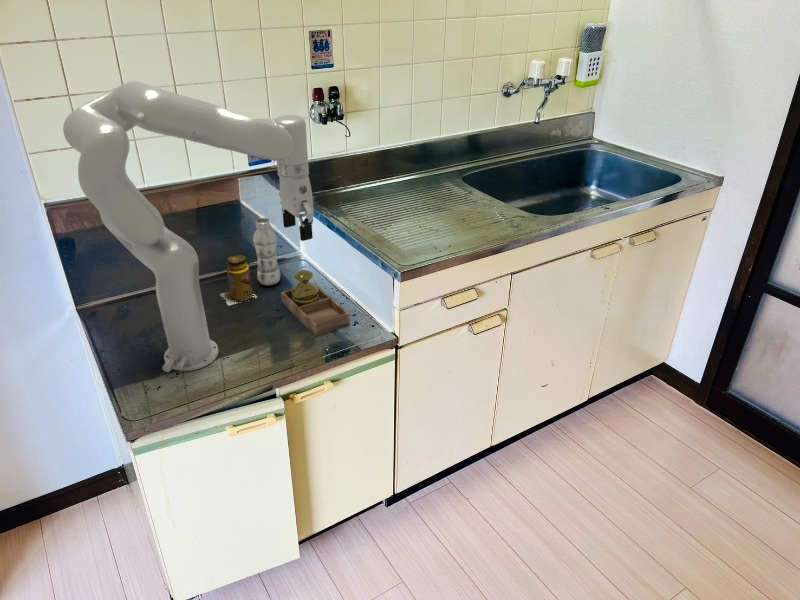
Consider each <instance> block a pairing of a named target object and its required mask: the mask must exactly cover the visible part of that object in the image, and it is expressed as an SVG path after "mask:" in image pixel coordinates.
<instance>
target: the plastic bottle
mask: <svg viewBox="0 0 800 600" xmlns="http://www.w3.org/2000/svg"><path fill="white" fill-rule="evenodd" d="M255 227H256V230H255V231H254V234H253V237H252V241H253V245H254V248H255V252H256V258H257V270H256V271H257V274H256V276H257V277H256V278H257V280H258V282H259V283H260V284H261V285H262V286H266V287H267V286H268V287H269V286H273V285H274V286H275V285H277V284H278V283H279V281H280V280H281V271H280V267H279V264H278V258H277V240H278V239H277V235H276V232H275V231H274V230H273V229H272V228H271V222H270V219H269V218H266V217H260V218H258V219H256V220H255Z"/></svg>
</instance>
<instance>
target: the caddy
mask: <svg viewBox="0 0 800 600" xmlns="http://www.w3.org/2000/svg"><path fill="white" fill-rule="evenodd" d="M312 283H313V284H315V285H316V286H317V287H318V289H319V291H318V294H319V301H316V302H313V303H310V304H306V305H303V306H300V307H298V306H297V305H296V304H295V303H294V302H293V301H292V296H293V295H292V293H291V290H292V288H291V289H288V290H284V291H281V292H280V294H281V304H282V305H284V307H285V308H286V309H287V310H288V311H289V312H290V313H291V314H292V315H293V316H294V317H296V319H297V320H298V321H299V322H300V323H301V324H302V325H303V326H304V327H305V328H306V329H307V330H308V331H309V332H310V333H311V334H312V335H313V336H314V337H318V336H322V335H324V334H326V333H327V334H328V333H330V332H332V331H335V330H338V329H341V328H344V327H347V326H349V325H351V322H350V321H351V320H350V313H349V311H347V310H346V309H345V308H344V307H343V306H341V304H339V303H338V302H337V301H336V300H335V299H334V298H332V297H331V296H330V295H329V294H328V293H327V292H326V291H325V290H323V289H322V288H321V287H320V286H318V285H317V283H316V282H312Z"/></svg>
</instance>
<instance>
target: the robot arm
mask: <svg viewBox="0 0 800 600" xmlns="http://www.w3.org/2000/svg"><path fill="white" fill-rule="evenodd" d="M135 127H139V128H141V129H143V130H145V131H148V132H151V133H156V134H159V135H164V136H167V137H173V138H177V139H181V140H187V141H190V142H195V143H197V144H198V143H199V144H203V145H206V146H210V147H214V148H217V149H221V150H226V151H227V150H228V151H233V152H236V153H240V154H244V155H247V156H252V157H255V158H260V159H264V160H269V161H275V162H276V169H277V170H276V171H277V177H279V192H278V194H279V198H280V205H281V212H282V222H283V227H284V228H291V227H294V226H296V218H297V219H298V222H299V224H300V225H299V229H298V230H299V239H300V241H301V242H304V241H309V240H312V239H313V238H314V237H313V222H314V211H315V210H314V200H313V192H312V185H311V181H310V177H309V175H310V171H309V155H308V141H307V138H308V137H307V125H306V120H305V119H304V118H303V117H302V116H298V115H296V114H295V115H294V114H285V115H280V116H278V117H275V118H273V117H272V118H250V117H248V116H244V115H242V114H239V113H236V112H233V111H231V110H229V109H227V108H224V107H222V106H219V105H217V104H214V103H210V102H207V101H203V100H200V99H197V98H193V97H191V96H190V97H189V96H186V95H182V94H179V93H175V92H172V91H168V90H166V89H162V88H159V87H155V86H152V85H149V84H146V83H144V82H140V81H129V82H125V83H123V84H121V85H118V86H117V87H115V88H113V89H111V90H109V91H107V92H105V93H104V94H102V95H100V96H98V97H96V98H94V99H92V100H90V101H88V102H87V103H85V104H82V105H81V106H79V107H78V108H76V109H73V111H71V112H70V113H69V114H68V115H67V117H66V118H65V120H64V122H63V128H62V130H63V131H62V132H63V136H64V139H65V140H66V142H67V143H68V145H69V146H70V147H71V148H73V149H74V150H75V151H77V152H78V153H80V156H79V160H78V164H77V165H78V166H77V174H78V176H77V177H78V183H79V186H80V188H81V190H82V192H83V194H84V196H85V197H86V198H87V199H88V200H89V201H90V203H91V204H92V205H93V206H94V207H95V208H96V209H97V210H98V212H99V216H100V219H101V222H102V223H103V225H104V226H105V227H106V229H107V230H108V231H109V232H110V233H111V234H112V235H113V236H114V237H115V238H116V239H117V240H118V241H119V242H120V243H121V244H122V245H123V246H124V247H125V248H126V249H127V250H128V251H129V252H130V253H131V254H132V255H133V256H134V257H135V258H136V259H137V260H139V261H140V262H141V263H142V264H143V265H144V266H146V267H147V268H148V269H149V270H151V271H152V273H153V274H154V277H155V294H156V298H157V305H158V307H159V311H160V317H161V321H162V324H163V329H164V332H165V337H166V342H167V346H168V348H167V350H165V352H164V355H163V359H164V364H163V365H162V371H164V372H166V373H169V372H171V370H174V371H180V372H189V371H195V370H199V369H202V368H204V367H207V366H208V365H210V364H211V363H213V362H214V361H215V360H216V358H217V357H218V355H219V347H218V344H217V343H216V342H215V341H214V340H212V339H210V334H209V329H208V323H207V319H206V318H207V317H206V313H205V307H204V302H203V297H202V291H201V285H200V278H199V277H200V276H199V275H200V274H199V271H200V269H199V268H200V265H199V264H200V261H199V257H198V254H197V252H196V250H195V249H194V247H193V246H192V244H190V243H189V242H187V241H186V240H185V239H184V238H183V237H181V236H179V235H178V234H176V233H174V232H173V231H172V230H170V229H168V228H167V227H166V226H165V223H164V220H163V217H162V215H161V213H160V212H159V210H158V209H157V208H156V207H155V206H154V205H153V204H152V203H151V202H150V201H149V200H148V199H147V198H146V197H145V196H144V194H142V192H141V191H140V190H139V189H138V188H137V186H136V185H135V184H134V183H133V181H132V180H131V179H130V177H129V176H128V174H127V171H126V165H127V164H126V163H127V160H128V156H129V152H130V138H129V136H128V133H127V132H129V131H130V130H132V129H133V128H135ZM304 217H305V218H304ZM303 218H304V220H303Z"/></svg>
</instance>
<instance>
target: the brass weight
mask: <svg viewBox="0 0 800 600" xmlns="http://www.w3.org/2000/svg"><path fill="white" fill-rule="evenodd" d="M313 277H314V274H313V272H312V271H310V270H308V269H307V270H306V269H301V270H298V271H296V272H295V273H294V279H295V280H297V281H298V283H297V284H295V285H293V286H292V288H291V289H292V290H291V289H290V290H291V293H292V295H293V296H292V301H293V302H294V303H295V304H296V305H297V306H298V307H300V306H303V305H306V304H310V303H313V302H316V301H319V294H318V291H319V289H318V287H317V286H316V285H317V284H316V283H315V284H316V285H315V284H313V283H314V282H312V281H310V280H311V279H312V278H313Z"/></svg>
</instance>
